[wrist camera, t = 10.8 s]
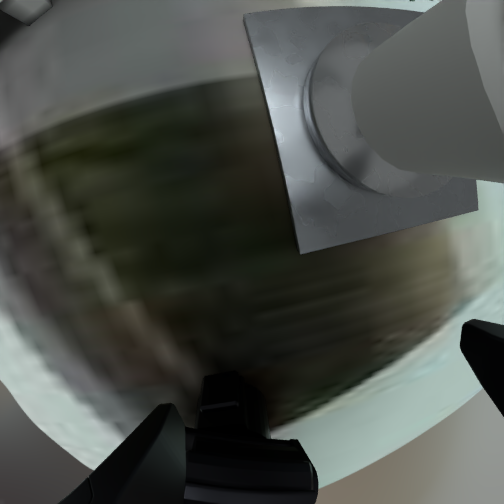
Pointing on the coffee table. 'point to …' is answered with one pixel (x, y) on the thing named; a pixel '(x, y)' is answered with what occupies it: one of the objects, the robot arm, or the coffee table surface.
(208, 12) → the coffee table surface
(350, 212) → the square metal dish
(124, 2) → the coffee table surface
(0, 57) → the coffee table surface
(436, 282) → the coffee table surface
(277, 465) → the robot arm
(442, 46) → the can
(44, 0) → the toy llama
